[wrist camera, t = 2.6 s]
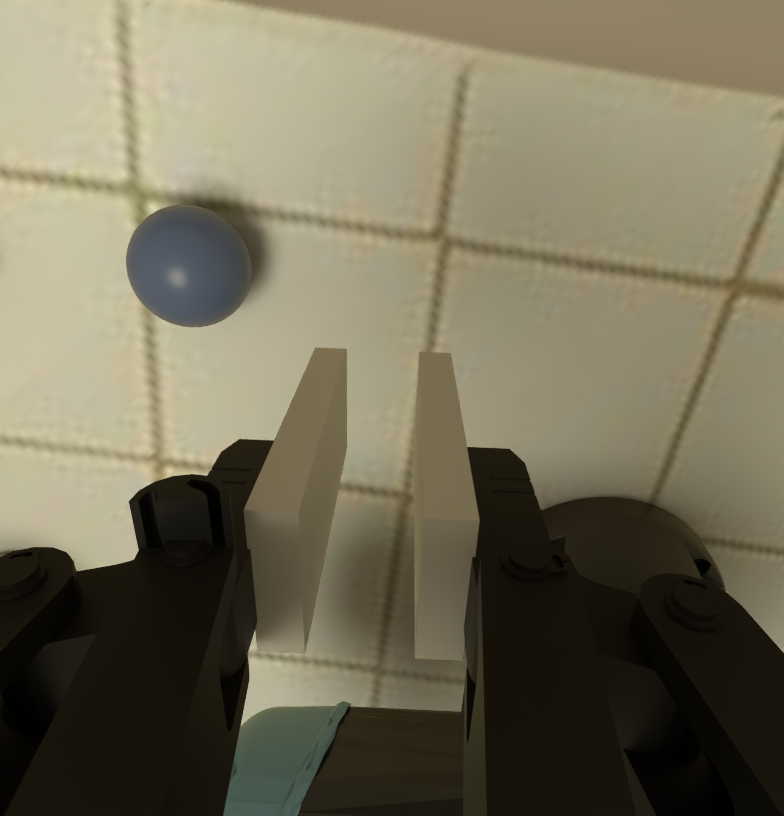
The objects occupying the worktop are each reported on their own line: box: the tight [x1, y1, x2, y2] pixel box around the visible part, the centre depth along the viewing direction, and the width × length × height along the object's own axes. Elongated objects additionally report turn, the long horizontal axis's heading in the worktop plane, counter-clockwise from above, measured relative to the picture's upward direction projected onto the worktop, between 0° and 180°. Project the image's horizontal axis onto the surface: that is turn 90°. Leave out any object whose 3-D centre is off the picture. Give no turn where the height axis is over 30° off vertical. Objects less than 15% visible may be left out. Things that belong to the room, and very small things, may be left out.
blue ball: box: [126, 205, 252, 327], centre depth 27 cm, size 6×6×6 cm
